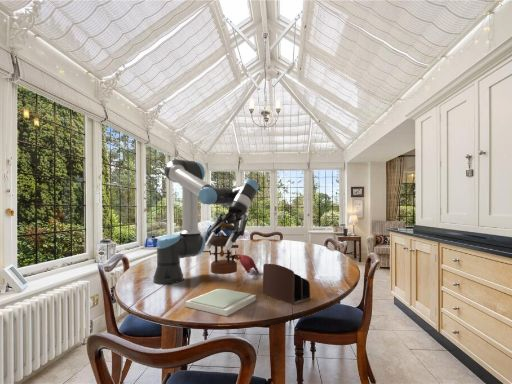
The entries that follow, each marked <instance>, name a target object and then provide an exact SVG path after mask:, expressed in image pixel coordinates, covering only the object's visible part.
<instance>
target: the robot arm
mask: <svg viewBox="0 0 512 384" xmlns="http://www.w3.org/2000/svg"><path fill="white" fill-rule="evenodd" d="M163 172H164V175H165V177H166V178H167V179H168V180H169V181H170V182H172V183H176V184H179V185H180V186H181V188H182V190H181V191H182V193H181V194H182V195H181V196H182V204H181V205H182V209H181V210H182V212H181V213H182V215H181V216H182V228H181V229H182V230H181V231H180V232H179V234H166V235H164V236H160V237H159V238H158V239H157V241H156V243H157V244H156V267H155V268H156V269H155V272H154V275H153V277H152V278H153V283H154V284H159V285H160V284H161V285H162V284H163V285H164V284H165V285H168V284H175V283H179V282H182V281H183V280H184V273H183V271H182V268H181V259H184V258H190V257H196V256H199V255H201V254H202V253H204V252H203V251H205V246H206V248H207V249H209V250H210V249H211V247H212V246H213V245H212V244H211V238H212V237H213V236H218V234H219V233H221V232H222V230H221V223H222V222H225V223H226V224H231V225H233V226H235V228H239V229H234V230H232V234H231V233H230V235H231V236H230V235H229V236H230V238H229V239H228V241H227V243H226V245H225V246H224V247H225V249H226V251H227V250H230V251H231V249H232V248H231V247H232V245H234V243H235V244H236V242H237V239H238V238H239V237H240V236H241V237H243V236H244V235H245V230H246V225H247V223H248V220H249V217H248V215H247V211H248V209H249V207H250V206H251V204H252V202H253V201H254V198H255V197H256V195H257V193H258V190H259V184H258V183H257V181H256V180H254V179H252V178H247V179H245V180H244V182H242V184H241V185H239V186H236V187H233V188H230V187H229V188H224V187H214V186H213V185H211V184H210V183H208V182H206V181H204V178H205V175H206V173H205V172H206V171H205V168H204V166H203V164H202V163H200V162H199V161H195V160H185V159H177V158H176V159H171V160H170V161H168V162H167V163H166V164H165V166H164V171H163ZM199 200H200V201H199ZM198 202H200V203H201V204H204V205H209V206H210V205H224V206H226V207H227V206H229V207H228V212H227V213H226V214H223V213H221V214H219V217H218V218H217V219H216V220H215V221H214V223H213V224H212V225H211V226H210V227H209V229H208V232H209V233H210V234H209V236H208V237H207V240H205V238H204V236H203V235H202V234H201V231H200V230H199V214H198V213H199V203H198ZM235 241H236V242H235Z"/></svg>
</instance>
